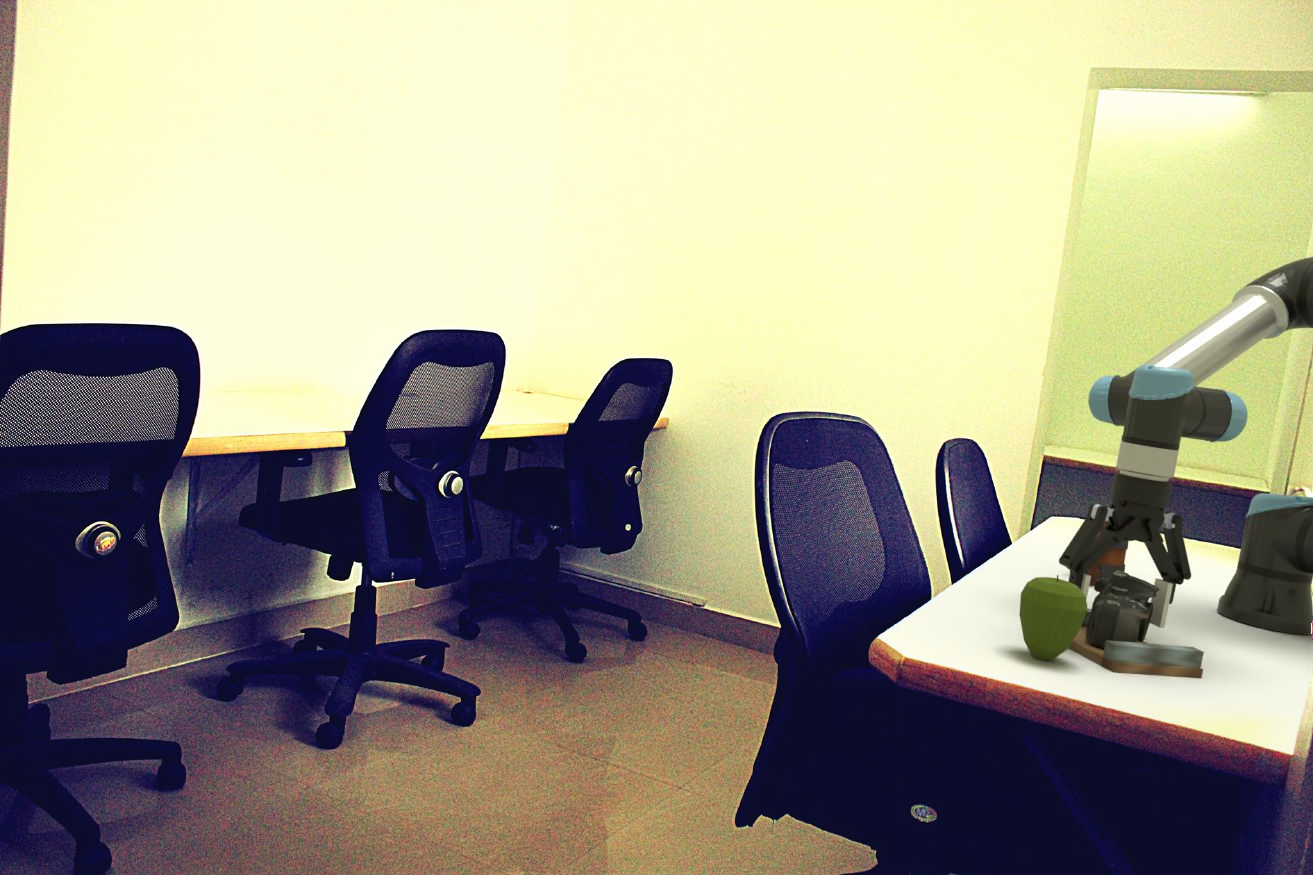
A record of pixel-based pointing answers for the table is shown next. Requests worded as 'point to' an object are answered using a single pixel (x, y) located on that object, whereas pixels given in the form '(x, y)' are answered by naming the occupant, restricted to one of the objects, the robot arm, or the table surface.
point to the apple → (1051, 615)
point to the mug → (1109, 561)
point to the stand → (1140, 656)
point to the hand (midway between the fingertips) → (1115, 621)
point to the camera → (1120, 609)
